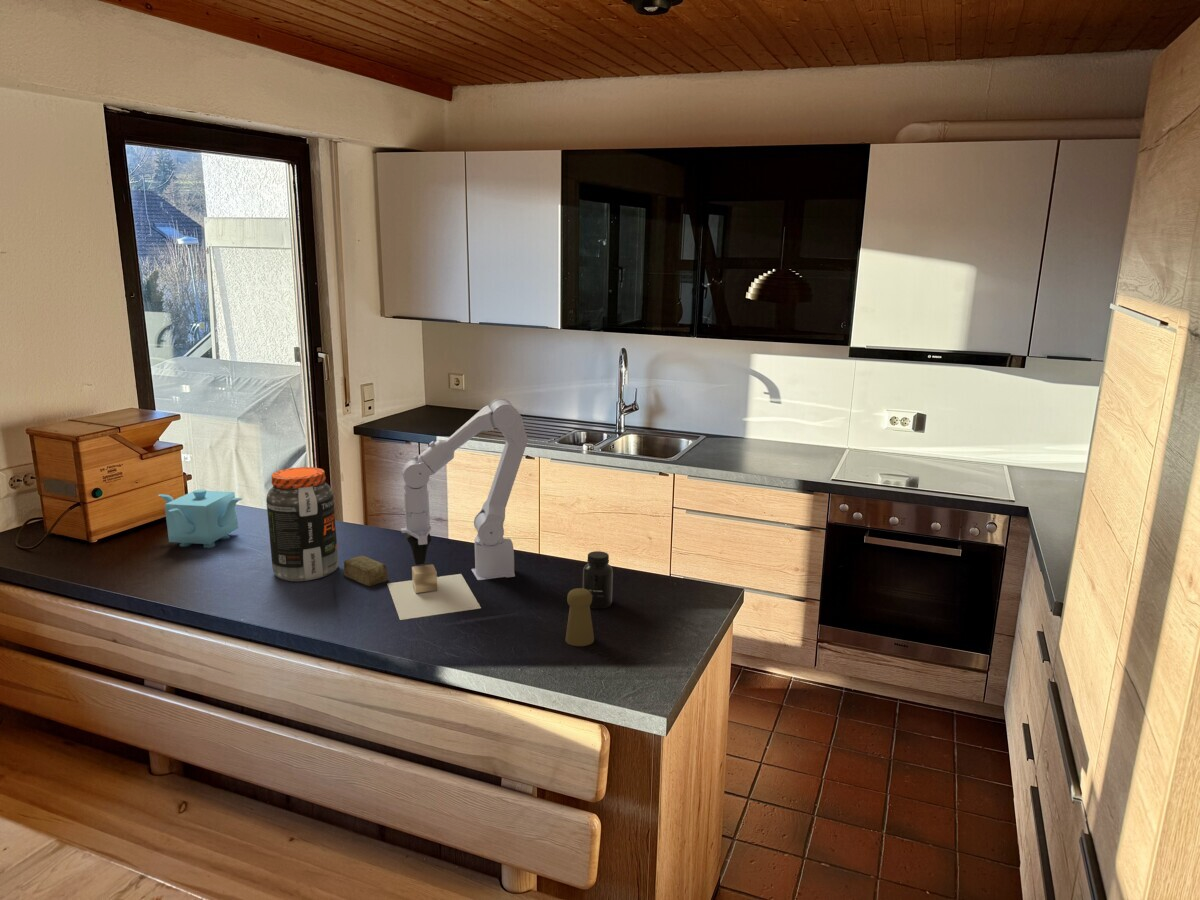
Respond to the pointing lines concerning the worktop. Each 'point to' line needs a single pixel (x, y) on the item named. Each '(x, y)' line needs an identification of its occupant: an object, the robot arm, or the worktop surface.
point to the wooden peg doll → (579, 618)
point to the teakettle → (201, 517)
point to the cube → (424, 579)
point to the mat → (433, 598)
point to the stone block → (365, 570)
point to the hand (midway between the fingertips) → (419, 563)
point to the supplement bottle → (598, 579)
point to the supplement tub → (302, 524)
